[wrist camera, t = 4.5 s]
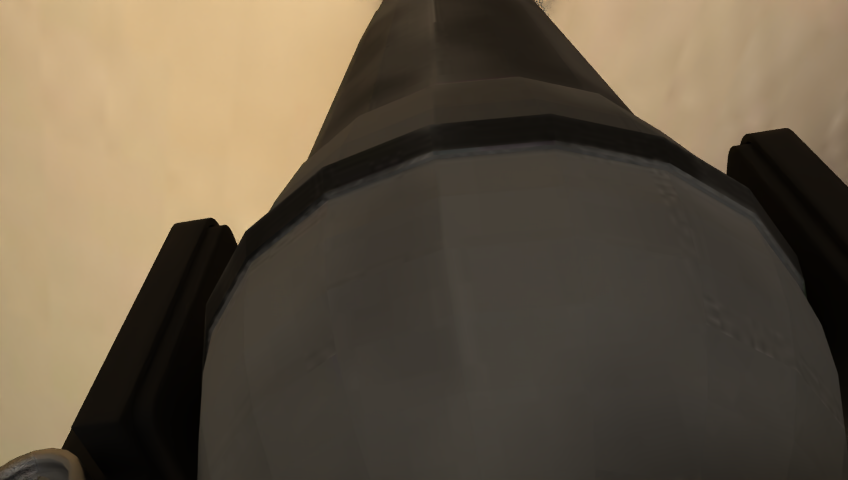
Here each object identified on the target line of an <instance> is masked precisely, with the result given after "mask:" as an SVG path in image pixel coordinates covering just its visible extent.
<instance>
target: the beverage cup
mask: <svg viewBox="0 0 848 480" xmlns="http://www.w3.org/2000/svg"><path fill="white" fill-rule="evenodd" d="M201 376H202V395H201V410H200V426H199V441H198V475H197V480H848V450H847V442H846V434H845V426H844V418H843V410H842V402H841V394H840V386H839V378H838V372H837V369H836V366H835V363H834V360H833V357H832V355H831V352H830V349H829V346H828V343H827V340H826V337H825V334H824V331H823V328H822V325H821V323H820V321H819V320H818V318H817V316H816V314H815V313H814V311H813V309H812V308H811V306H810V304H809V302H808V301H807V295H806V288H805V281H804V278H803V274H802V271H801V267H800V264H799V260H798V257H797V255H796V254H795V252H794V251H793V249H792V248H791V247H790V245H789V244H788V242H787V241H786V240H785V238H784V237H783V235H782V234H781V233H780V231H779V230H778V228H777V227H776V226H775V224H774V223H773V221H772V220H771V218H770V217H769V216H768V214H767V213H766V211H765V210H764V209H763V207H762V206H761V204H760V203H759V202H758V200H757V199H756V197H755V196H754V195H753V193H752V192H751V190H750V189H749V188H748V187H746V186H744V185H743V184H741V183H739V182H738V181H736V180H734V179H733V178H731V177H729V176H728V175H726V174H724V173H723V172H721V171H719V170H718V169H716V168H714V167H713V166H711V165H710V164H708V163H706V162H705V161H703V160H701V159H700V158H698V157H696V156H695V155H693V154H692V153H691V152H689V151H688V150H686V149H685V148H684V147H682V146H681V145H680V144H678V143H677V142H675V141H674V140H673V139H671V138H670V137H668V136H667V135H666V134H664V133H663V132H661V131H660V130H658V129H656V128H655V127H653V126H651V125H650V124H648V123H646V122H645V121H643V120H641V119H640V118H638V117H637V116H635V115H634V114H633V113H632V112H631V111H630V110H629V108H628V107H627V106H626V105H625V104H624V103H623V102H622V100H621V99H620V98H619V97H618V96H617V95H616V94H615V92H614V91H613V90H612V89H611V88H610V87H609V86H608V84H607V83H606V82H605V81H604V80H603V79H602V78H601V76H600V75H599V74H598V73H597V72H596V71H595V70H594V69H593V67H592V66H591V65H590V64H589V63H588V62H587V61H586V59H585V58H584V57H583V56H582V55H581V54H580V53H579V51H578V50H577V49H576V48H575V47H574V46H573V45H572V43H571V42H570V41H569V40H568V39H567V38H566V37H565V35H564V34H563V33H562V32H561V31H560V30H559V29H558V27H557V26H556V25H555V24H554V23H553V22H552V21H551V19H550V18H549V17H548V16H547V15H546V14H545V13H544V11H543V10H542V9H541V8H540V7H539V6H538V5H537V3H536V2H535V1H534V0H383V2H382V4H381V6H380V7H379V9H378V10H377V11H376V13H375V14H374V16H373V18H372V20H371V22H370V23H369V25H368V27H367V29H366V31H365V32H364V34H363V36H362V38H361V40H360V42H359V44H358V46H357V49H356V51H355V53H354V55H353V58H352V60H351V62H350V64H349V67H348V69H347V71H346V73H345V76H344V78H343V80H342V83H341V85H340V87H339V89H338V92H337V94H336V96H335V98H334V101H333V103H332V105H331V107H330V110H329V112H328V114H327V116H326V119H325V121H324V123H323V126H322V128H321V130H320V132H319V135H318V137H317V139H316V141H315V144H314V146H313V148H312V150H311V153H310V155H309V157H308V159H307V161H306V162H304V163H303V164H302V166H301V167H300V168H299V170H298V171H297V172H296V174H295V175H294V176H293V178H292V179H291V180H290V182H289V183H288V184H287V186H286V187H285V189H284V190H283V191H282V193H281V194H280V195H279V197H278V198H277V199H276V201H275V202H274V204H273V206H272V208H271V209H270V211H269V212H268V213H267V214H266V215H265V216H263V217H262V218H261V219H260V220H259V221H257V222H256V223H255V224H254V225H253V226H251V227H250V228H249V229H248V230H247V231H245V233H244V235H243V237H242V239H241V241H240V243H239V244H238V246H237V248H236V250H235V252H234V254H233V255H232V257H231V259H230V261H229V263H228V265H227V267H226V268H225V270H224V272H223V274H222V276H221V278H220V279H219V281H218V283H217V285H216V287H215V289H214V291H213V292H212V294H211V296H210V298H209V300H208V302H207V303H206V312H205V328H204V343H203V359H202V375H201Z"/></svg>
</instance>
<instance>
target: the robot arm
mask: <svg viewBox="0 0 848 480" xmlns="http://www.w3.org/2000/svg"><path fill="white" fill-rule="evenodd" d="M727 175H728V176H729V177H731V178H733V179H734V180H736V181H738V182H739V183H741V184H743V185H744V186H746V187H748V188H749V189H750V190H751V192H752V193H753V195H754V196H755V197H756V199H757V200H758V202H759V203H760V204H761V206H762V207H763V209H764V210H765V211H766V213H767V214H768V216H769V217H770V218H771V220H772V221H773V223H774V224H775V226H776V227H777V228H778V230H779V231H780V233H781V234H782V235H783V237H784V238H785V240H786V241H787V242H788V244H789V245H790V247H791V248H792V249H793V251H794V252H795V254H796V255H797V257H798V260H799V264H800V267H801V271H802V274H803V278H804V281H805V288H806V295H807V301H808V302H809V304H810V306H811V308H812V309H813V311H814V313H815V314H816V316H817V318H818V320H819V321H820V323H821V325H822V328H823V331H824V334H825V337H826V340H827V343H828V346H829V349H830V352H831V355H832V357H833V360H834V363H835V366H836V369H837V372H838V378H839V386H840V394H841V402H842V410H843V418H844V426H845V434H846V442H847V450H848V187H847V186H846V185H845V184H844V183H843V182H842V181H841V180H840V179H839V178H838V177H837V176H836V174H835V173H834V172H833V171H832V170H831V169H830V168H829V167H828V166H827V165H826V164H825V163H824V162H823V161H822V160H821V159H820V158H819V157H818V156H817V155H816V154H815V153H814V152H813V151H812V150H811V149H810V148H809V147H808V146H807V145H806V144H805V143H804V142H803V141H802V140H801V139H800V138H799V137H798V136H797V135H796V134H795V133H794V132H793V131H792V130H790V129H789V128H783V129H776V130H770V131H763V132H757V133H751V134H746V135H745V136H744V137H743V138H742V140H741V143H740V145H738V146H732V147H731V148H730V151H729V154H728V163H727ZM237 246H238V245H237V243H236V240H235V238H234V235H233V233H232V231H231V229H230V228H229V227H228V226H227V225H221V226H219V224H218V223H217V222H216V220H215V219H213V218H206V219H200V220H193V221H187V222H181V223H176V224H174V225H173V227H172V228H171V230H170V232H169V234H168V236H167V238H166V240H165V242H164V244H163V246H162V248H161V250H160V252H159V254H158V256H157V258H156V260H155V262H154V264H153V266H152V268H151V270H150V272H149V274H148V276H147V278H146V280H145V282H144V284H143V286H142V288H141V290H140V292H139V294H138V296H137V298H136V300H135V302H134V304H133V306H132V308H131V310H130V312H129V314H128V316H127V318H126V320H125V322H124V324H123V325H122V327H121V329H120V331H119V333H118V335H117V337H116V339H115V341H114V343H113V345H112V347H111V349H110V351H109V353H108V355H107V357H106V359H105V361H104V363H103V365H102V367H101V369H100V371H99V373H98V375H97V377H96V379H95V381H94V383H93V385H92V387H91V389H90V391H89V393H88V395H87V397H86V399H85V401H84V403H83V405H82V407H81V409H80V411H79V413H78V415H77V417H76V419H75V421H74V423H73V425H72V427H71V428H72V429H71V431H70V433H69V435H68V437H67V439H66V441H65V443H64V445H63V447H62V449H56V448H48V449H42V450H36V451H32V452H30V453H27V454H25V455H22V456H19V457H17V458H15V459H13V460H11V461H10V462H8V463H6V464H5V465H3V466H1V467H0V480H197V475H198V441H199V426H200V410H201V395H202V376H201V375H202V359H203V343H204V328H205V312H206V303H207V302H208V300H209V298H210V296H211V294H212V292H213V291H214V289H215V287H216V285H217V283H218V281H219V279H220V278H221V276H222V274H223V272H224V270H225V268H226V267H227V265H228V263H229V261H230V259H231V257H232V255H233V254H234V252H235V250H236V248H237Z"/></svg>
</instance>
